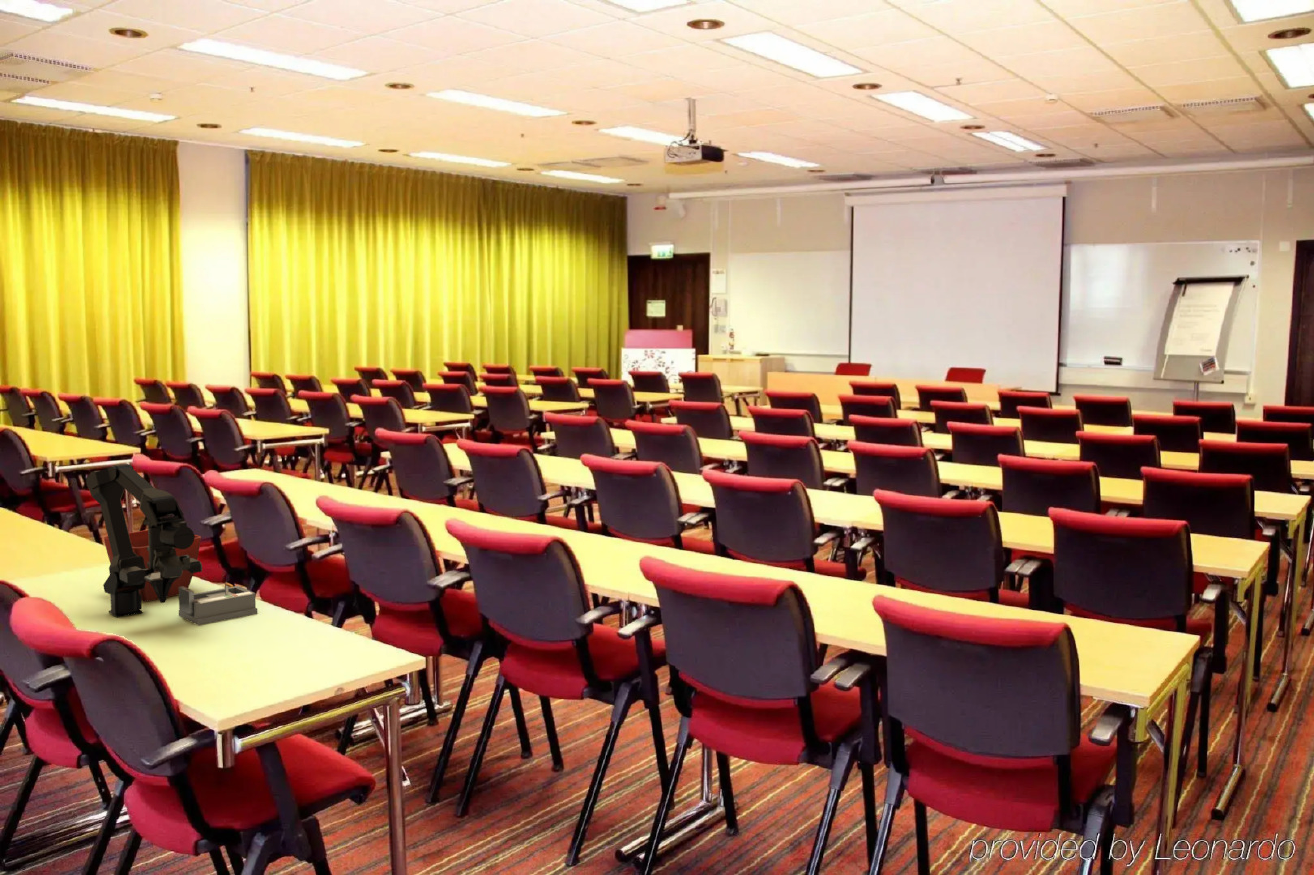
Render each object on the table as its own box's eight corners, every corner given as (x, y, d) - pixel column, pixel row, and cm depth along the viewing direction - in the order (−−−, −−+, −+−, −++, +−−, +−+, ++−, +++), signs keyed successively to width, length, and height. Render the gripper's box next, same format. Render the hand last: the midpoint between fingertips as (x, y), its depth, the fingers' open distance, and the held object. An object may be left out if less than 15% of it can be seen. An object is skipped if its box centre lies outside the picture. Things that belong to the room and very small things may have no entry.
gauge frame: (198, 625, 270) (197, 603, 269) (178, 615, 278) (178, 593, 277) (257, 613, 282) (257, 592, 281) (237, 604, 290) (236, 583, 289)
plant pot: (137, 607, 284) (135, 547, 282) (104, 594, 296) (102, 536, 294) (204, 593, 299) (202, 536, 297) (169, 581, 311) (168, 526, 309)
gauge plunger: (193, 619, 269) (193, 592, 269) (178, 611, 276) (178, 585, 275) (243, 609, 279) (242, 583, 278) (227, 602, 285) (227, 576, 284)
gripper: (135, 554, 255) (137, 616, 256) (210, 543, 268) (212, 602, 270) (117, 546, 262) (119, 607, 264) (192, 536, 276) (193, 593, 278)
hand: (162, 602), depth 269 cm, fingers closed
